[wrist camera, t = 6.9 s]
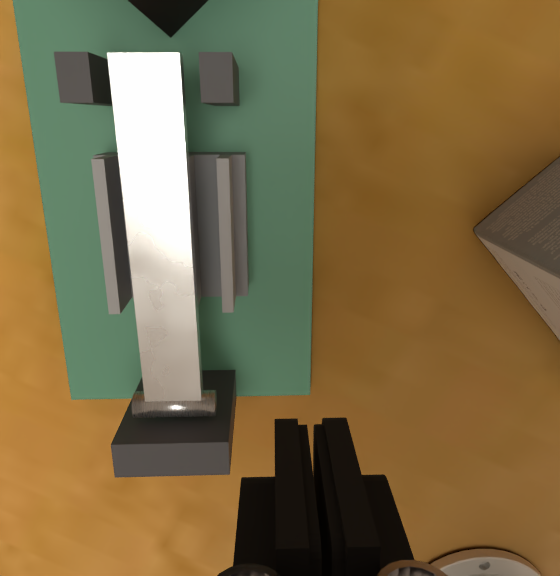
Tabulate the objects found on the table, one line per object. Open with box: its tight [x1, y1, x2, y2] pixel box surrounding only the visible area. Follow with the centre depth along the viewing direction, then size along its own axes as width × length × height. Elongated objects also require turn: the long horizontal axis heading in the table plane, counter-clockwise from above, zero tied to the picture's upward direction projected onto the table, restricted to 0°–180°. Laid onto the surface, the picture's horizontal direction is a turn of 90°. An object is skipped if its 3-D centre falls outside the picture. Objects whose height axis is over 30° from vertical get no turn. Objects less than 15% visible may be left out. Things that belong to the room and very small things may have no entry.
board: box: [13, 0, 318, 477], centre depth 28 cm, size 24×16×9 cm, turn 0°
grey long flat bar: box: [107, 53, 217, 418], centre depth 25 cm, size 18×4×1 cm, turn 0°
